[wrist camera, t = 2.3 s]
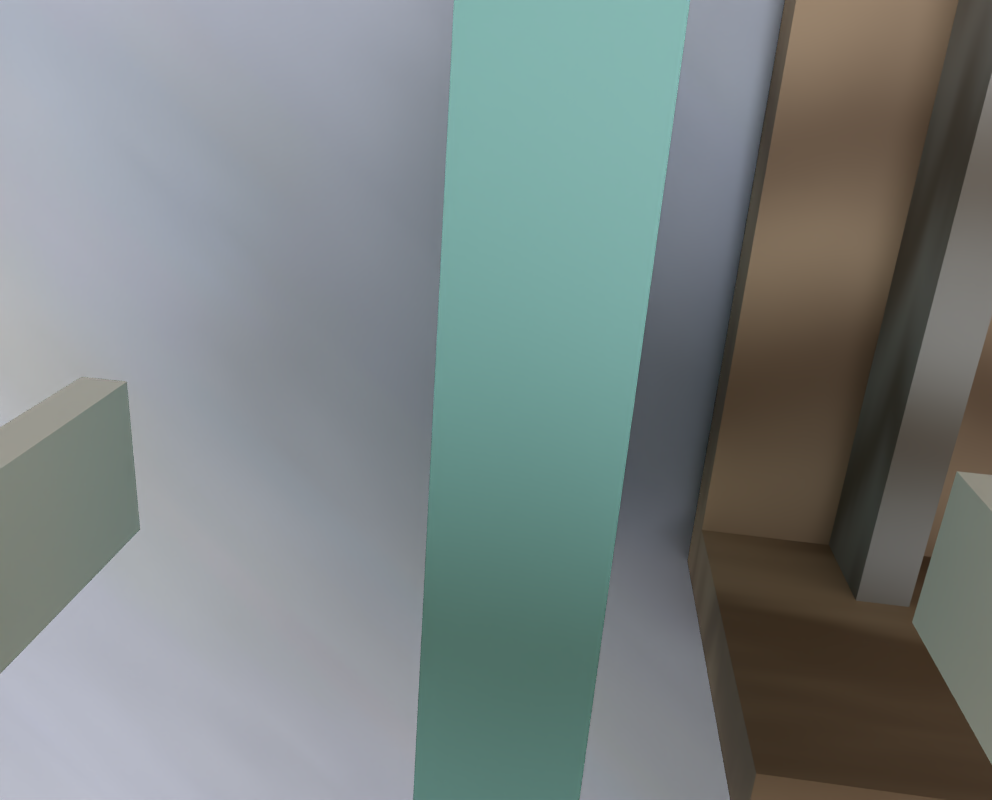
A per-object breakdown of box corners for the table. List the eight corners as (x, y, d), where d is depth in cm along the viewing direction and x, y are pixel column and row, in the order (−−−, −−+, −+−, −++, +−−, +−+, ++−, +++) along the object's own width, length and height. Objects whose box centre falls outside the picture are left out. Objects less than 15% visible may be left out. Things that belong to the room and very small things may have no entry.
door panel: (572, 546, 29) (546, 1037, 14) (501, 537, 29) (402, 1014, 15) (634, 27, 24) (697, -51, 9) (545, 20, 24) (457, -67, 9)
